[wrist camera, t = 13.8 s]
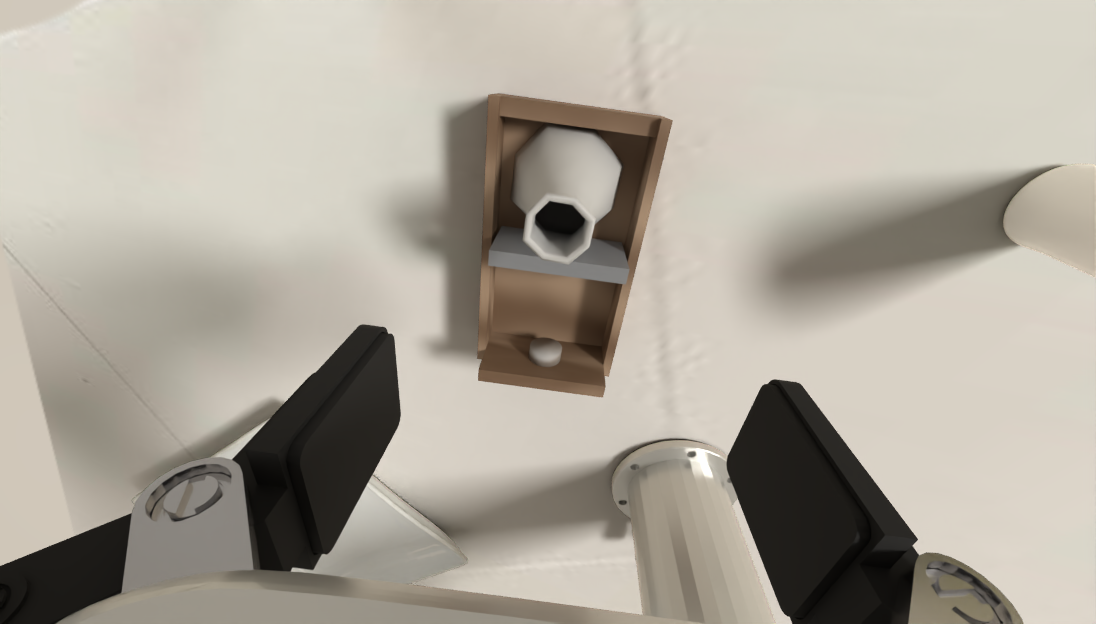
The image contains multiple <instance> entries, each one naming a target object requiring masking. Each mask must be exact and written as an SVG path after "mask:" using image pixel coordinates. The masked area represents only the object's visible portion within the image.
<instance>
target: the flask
mask: <svg viewBox="0 0 1096 624" xmlns="http://www.w3.org/2000/svg"><path fill="white" fill-rule="evenodd" d="M623 166H624V164H623V163H622V162H621V160H620V159H619V158H618V157H617V156H616V154H615V153H614V152H613V151H612V149H611V148H610V147H609V146H608V145H607V143H606V142H605V141H604V140H603V139H602V137H601V136H600V135H599V134H598V133H597V131H596V130H595V129H591V128H584V127H577V126H570V125H563V124H555V123H548V122H545V123H544V125H543V126H542V127H541V128H540V129H539V130H538V131H537V132H536V133H535V134H534V135H533V136H532V137H531V138H530V139H529V140H528V141H527V143H526V144H525V145H524V146H523V147H522V148H521V149H520V150H519V151H518V152H517V153H516V154H515V162H514V171H513V180H512V189H511V198H510V199H511V200H512V201H513V202H514V203H515V204H516V205H517V206H518V207H519V208H520V209H521V210H522V211H523V212H524V213H525V214H526V218H525V225H524V232H523V240H522V241H523V242H524V243H525V244H526V245H527V246H528V247H529V248H530V249H531V250H532V251H533V252H534V253H535V254H536V255H537V256H538V257H539V258H540V259H542V260H545V261H551V262H557V263H562V264H568V265H569V264H570V263H571V262H573V261H574V260H575V259H576V258H577V257H578V256H580V255H581V254H582V253H583V252H584V251H586V250H587V249H588V248H589V247H590V243H591V238H592V234H593V230H594V225H595V224H596V223H597V222H598V221H600V220H601V219H602V218H603V217H604V216H605V215H606V214H608V213H609V212H610V211H611V210H612V209H613V207H614V203H615V199H616V195H617V191H618V186H619V182H620V178H621V174H622V170H623Z"/></svg>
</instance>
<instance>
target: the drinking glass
mask: <svg viewBox="0 0 1096 624" xmlns="http://www.w3.org/2000/svg"><path fill="white" fill-rule="evenodd" d="M1003 227H1004V231H1005V233H1006V235H1007V236H1008V237H1009V238H1010V239H1011V240H1012V241H1013V242H1015V243H1017V244H1019V245H1021V246H1023V247H1026V248H1029V249H1031V250H1034V251H1037V252H1040V253H1042V254H1045V255H1047V256H1049V257H1051V258H1053V259H1056V260H1058V261H1060V262H1062V263H1064V264H1067V265H1069V266H1071V267H1073V268H1075V269H1077V270H1079V271H1082V272H1084V273H1086V274H1088V275H1090V276H1092V277H1094V278H1096V165H1094V164H1070V165H1065V166H1061V167H1058V168H1055V169H1052V170H1049V171H1047V172H1045V173H1043V174H1041V175H1039V176H1038V177H1036V178H1034V179H1033V180H1031V181H1030V182H1029V183H1027V184H1026V185H1025V186H1024V187H1023V188H1022V189H1021V190H1020V191H1019V192H1018V193H1017V194H1016V195H1015V196H1014V197H1013V199H1012V200H1011V202H1010V203H1009V205H1008V207H1007V209H1006V211H1005V214H1004V218H1003Z"/></svg>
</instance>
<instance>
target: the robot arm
mask: <svg viewBox="0 0 1096 624" xmlns="http://www.w3.org/2000/svg"><path fill="white" fill-rule="evenodd" d="M400 416H401V412H400V400H399V388H398V377H397V365H396V354H395V342H394V336H393V335H392V334H388V332H387V329H386V328H385V327H378V326H371V325H360V326H359V327H357V329H356V330H355V331H354V332H353V333H352V334H351V335H350V336H349V337H348V338H347V339H346V340H345V342H344V343H343V344H342V345H341V346H340V347H339V348H338V349H337V350H336V351H335V352H334V353H333V354H332V356H331V357H330V358H329V359H328V360H327V361H326V362H325V363H324V364H323V365H322V366H321V367H320V369H319V370H318V371H317V372H316V373H313V374H312V375H311V376H310V377H308V379H307V380H306V381H305V382H304V383H303V384H302V385H301V386H300V387H299V388H298V389H297V390H296V391H295V392H294V394H293V395H292V396H291V397H290V398H289V399H288V400H287V401H286V402H285V403H284V404H283V405H282V406H281V407H280V408H279V410H278V411H277V412H276V413H275V414H274V415H273V416H272V417H271V418H270V419H269V420H268V421H267V422H266V423H265V425H264V426H263V427H262V428H261V429H260V430H259V431H258V432H257V433H256V434H255V435H254V436H253V437H252V438H251V440H250V441H249V442H248V443H247V444H246V445H245V446H244V447H243V448H242V449H241V450H240V451H239V452H238V453H237V455H236V456H235V457H234V458H233V459H232V460H231V459H227V458H222V457H211V458H203V459H199V460H195V461H190V462H188V463H186V464H183V465H181V466H178V467H176V468H174V469H172V470H170V471H169V472H167V473H165V474H164V475H162V476H160V477H159V478H157V479H156V480H155V481H154V482H153V483H151V484H150V485H149V486H148V487H147V488H146V489H145V490H144V491H143V492H142V494H141V495H140V496H139V497H138V499H137V500H136V502H135V505H134V508H133V511H132V513H131V514H129V515H126V516H124V517H121V518H119V519H116V520H114V521H111V522H109V523H106V524H104V525H101V526H99V527H96V528H94V529H91V530H89V531H86V532H84V533H81V534H79V535H76V536H74V537H71V538H69V539H66V540H64V541H62V542H59V543H57V544H54V545H51V546H49V547H47V548H44V549H42V550H39V551H37V552H34V553H32V554H29V555H27V556H24V557H22V558H19V559H17V560H14V561H12V562H10V563H7V564H4V565H2V566H0V624H776V622H775V619H774V617H773V614H772V611H771V608H770V606H769V603H768V600H767V598H766V595H765V592H764V590H763V587H762V584H761V582H760V579H759V576H758V573H757V571H756V568H755V565H754V563H753V560H752V557H751V555H750V552H749V549H748V547H747V544H746V541H745V538H744V536H743V533H742V530H741V528H740V525H739V522H738V520H737V517H736V514H735V512H734V509H733V506H732V505H733V504H734V502H735V501H736V500H737V498H738V500H739V503H740V505H741V508H742V510H743V513H744V516H745V518H746V521H747V523H748V526H749V528H750V531H751V533H752V536H753V539H754V541H755V544H756V546H757V549H758V551H759V554H760V557H761V559H762V562H763V564H764V567H765V569H766V572H767V574H768V577H769V580H770V582H771V585H772V587H773V590H774V592H775V595H776V598H777V600H778V603H779V605H780V607H781V609H782V611H783V612H784V614H785V615H787V616H789V617H790V619H791V621H792V624H1023V621H1022V618H1021V617H1020V615H1019V614H1018V612H1017V611H1016V609H1015V608H1014V606H1013V604H1012V603H1011V602H1010V601H1009V600H1008V599H1007V598H1006V597H1005V596H1004V594H1003V593H1002V592H1001V591H1000V590H999V589H998V588H997V587H995V586H994V585H993V584H992V583H991V582H990V581H988V580H987V579H986V578H985V577H984V576H982V575H981V574H979V573H978V572H976V571H975V570H973V569H972V568H970V567H969V566H967V565H966V564H964V563H962V562H960V561H958V560H956V559H954V558H952V557H949V556H945V555H942V554H939V553H927V552H926V553H924V554H922V555H919V554H918V553H917V552H916V550H915V549H914V548H913V546H912V545H913V544H914V543H915V542H916V541H917V540H918V539H917V537H916V536H915V535H914V533H913V532H912V531H911V529H910V528H909V527H908V526H907V524H906V523H905V522H904V520H903V519H902V518H901V516H900V515H899V514H898V512H897V511H896V510H895V508H894V507H893V506H892V504H891V503H890V502H889V500H888V499H887V498H886V496H885V495H884V494H883V492H882V491H881V490H880V488H879V487H878V486H877V484H876V483H875V482H874V480H873V479H872V478H871V476H870V475H869V474H868V472H867V471H866V470H865V469H864V467H863V466H862V465H861V463H860V462H859V461H858V459H857V458H856V457H855V455H854V454H853V453H852V451H851V450H850V449H849V447H848V446H847V445H846V443H845V442H844V441H843V439H842V438H841V437H840V435H839V434H838V433H837V431H836V430H835V429H834V427H833V426H832V425H831V423H830V422H829V421H828V419H827V418H826V417H825V416H824V414H823V413H822V412H821V410H820V409H819V408H818V406H817V405H816V404H815V402H814V401H813V400H812V398H811V397H810V396H809V394H808V393H807V392H806V390H805V389H804V388H803V386H802V385H801V384H800V383H797V382H790V381H783V380H772V381H770V382H769V383H768V384H764V385H763V386H762V387H761V389H760V391H759V393H758V395H757V397H756V399H755V401H754V403H753V405H752V407H751V409H750V411H749V414H748V416H747V418H746V420H745V422H744V424H743V426H742V428H741V430H740V432H739V434H738V436H737V438H736V440H735V443H734V445H733V447H732V449H731V451H730V453H729V455H728V456H726V455H725V454H724V453H723V452H722V451H720V450H718V449H716V448H714V447H712V446H709V445H706V444H703V443H700V442H694V441H688V440H672V441H662V442H658V443H654V444H650V445H648V446H645V447H642V448H640V449H638V450H636V451H635V452H633V453H631V454H630V455H628V456H627V457H626V458H625V459H624V460H622V461H621V463H620V464H619V465H618V467H617V468H616V470H615V472H614V474H613V477H612V483H611V484H612V495H613V498H614V502H615V503H616V505H617V507H618V508H619V509H620V510H621V511H622V512H623V513H624V514H625V515H626V516H628V517H629V518H631V524H632V532H633V540H634V548H635V560H636V564H637V572H638V580H639V588H640V597H641V605H642V613H643V615H639V614H631V613H624V612H616V611H609V610H602V609H594V608H587V607H579V606H572V605H564V604H557V603H549V602H542V601H534V600H526V599H519V598H511V597H503V596H496V595H488V594H480V593H472V592H465V591H457V590H449V589H441V588H433V587H426V586H418V585H410V584H402V583H394V582H387V581H377V580H368V579H359V578H350V577H341V576H332V575H323V574H313V573H304V572H290V571H291V570H292V568H300V569H307V570H314V568H315V566H316V564H317V562H318V561H319V559H320V557H321V555H322V554H326V555H327V554H329V553H330V552H331V550H332V549H333V547H334V546H335V544H336V542H337V540H338V538H339V536H340V534H341V533H342V531H343V529H344V527H345V525H346V523H347V521H348V519H349V518H350V516H351V514H352V512H353V510H354V508H355V506H356V504H357V503H358V501H359V499H360V497H361V495H362V493H363V491H364V489H365V488H366V486H367V484H368V482H369V480H370V478H371V476H372V474H373V473H374V471H375V469H376V467H377V465H378V463H379V461H380V459H381V458H382V456H383V454H384V452H385V450H386V448H387V446H388V444H389V443H390V441H391V439H392V437H393V435H394V433H395V431H396V429H397V427H398V425H399V422H400Z"/></svg>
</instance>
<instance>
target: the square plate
mask: <svg viewBox="0 0 1096 624" xmlns="http://www.w3.org/2000/svg"><path fill="white" fill-rule="evenodd" d="M269 419H270V418H269ZM269 419H267V420H266V421H264V422H262V423H261V424H259V425H258V426H256V427H255V428H253V429H252V430H250V431H249V432H247V433H246V434H244V435H243V436H241V437H240V438H238V439H237V440H235V441H234V442H232V443H231V444H229V445H228V446H227V447H225V448H223V449H222V450H220V451H219V452H217V453H216V454H214V455H212V456H211V457H222V458H227V459H231V460H232V459H233V458H234V457H235V456H236V455H237V453H238V452H239V451H240V450H241V449H242V448H243V447H244V446H245V445H246V444H247V443H248V442H249V441H250V440H251V438H252V437H253V436H254V435H255V434H256V433H257V432H258V431H259V430H260V429H261V428H262V427H263V426H264V425H265V423H266V422H267V421H268V420H269ZM211 457H209V458H211ZM141 494H142V492H141V493H139V494H138V495H136V496H135V497H134V498H133V499H132V503H133V504H134V505H135V502H136V500H137V499H138V497H139V496H140V495H141ZM467 562H468V559H467V557H466V556H465V555H464V554H463V553H462V552H461V551H460V549H459V548H458V546H457V545H456V544H455V543H454V542H453V541H452V540H451V539H450V538H449V537H448V536H447V535H446V534H445V533H444V532H443V531H442V530H441V529H439V528H438V527H437V526H436V525H435V524H433V523H432V522H431V521H429V520H428V519H427V518H426V517H424V516H423V515H422V514H420V513H419V512H418V511H416V510H415V509H414V508H412V507H411V506H410V505H409V504H407V503H406V502H405V501H403V500H402V499H401V498H400V497H398V496H397V495H396V494H395V493H393V492H392V491H391V490H390V489H388V488H387V487H386V486H385V485H384V484H382V483H381V482H380V481H379V480H378V479H377V478H375V477H374V476H373V475H372V476H371V478H370V480H369V482H368V484H367V486H366V488H365V489H364V491H363V493H362V495H361V497H360V499H359V501H358V503H357V504H356V506H355V508H354V510H353V512H352V514H351V516H350V518H349V519H348V521H347V523H346V525H345V527H344V529H343V531H342V533H341V534H340V536H339V538H338V540H337V542H336V544H335V546H334V547H333V549H332V550H331V552H330V553H329V554H327V555H326V554H322V555H321V557H320V559H319V561H318V562H317V564H316V566H315V568H314V570H307V569H300V568H292V570H291V571H290V572H304V573H313V574H323V575H332V576H341V577H350V578H359V579H368V580H377V581H387V582H394V583H402V584H410V583H413V582H416V581H419V580H423V579H426V578H428V577H431V576H434V575H437V574H440V573H443V572H446V571H449V570H452V569H455V568H458V567H460V566H463V565H465V564H467Z"/></svg>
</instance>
